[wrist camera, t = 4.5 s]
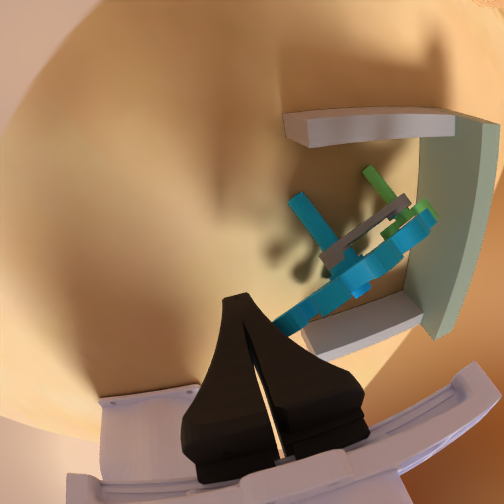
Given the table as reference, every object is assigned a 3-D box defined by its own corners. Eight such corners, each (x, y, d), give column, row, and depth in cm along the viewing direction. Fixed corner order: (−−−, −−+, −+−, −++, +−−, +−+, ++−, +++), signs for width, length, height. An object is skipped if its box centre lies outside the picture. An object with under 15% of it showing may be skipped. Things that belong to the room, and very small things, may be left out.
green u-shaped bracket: (301, 335, 21) (326, 388, 17) (282, 113, 13) (329, 125, 9) (417, 293, 22) (451, 331, 18) (440, 108, 14) (500, 124, 10)
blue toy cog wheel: (278, 342, 18) (284, 371, 9) (228, 267, 20) (186, 220, 10) (405, 248, 19) (490, 197, 9) (357, 182, 20) (406, 94, 11)
